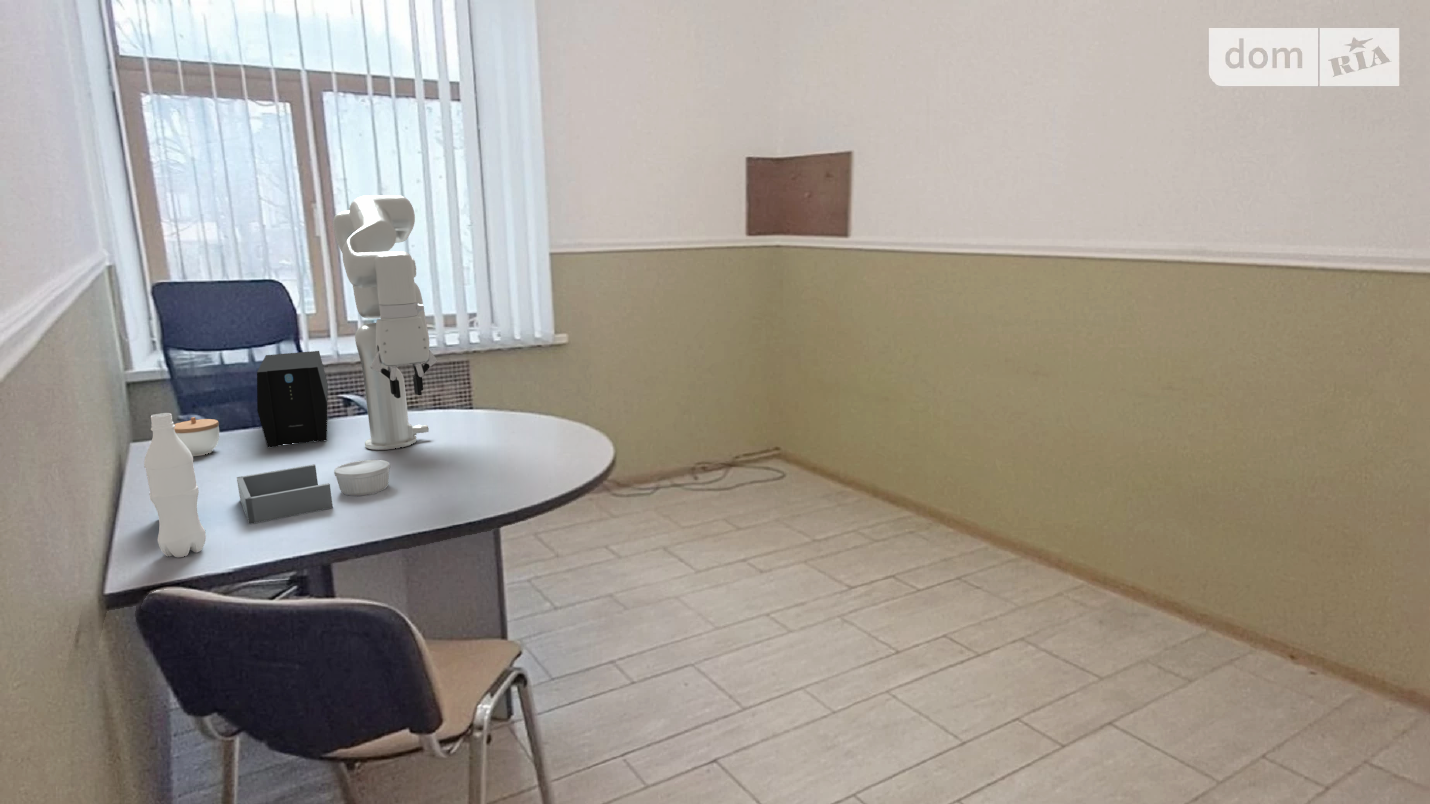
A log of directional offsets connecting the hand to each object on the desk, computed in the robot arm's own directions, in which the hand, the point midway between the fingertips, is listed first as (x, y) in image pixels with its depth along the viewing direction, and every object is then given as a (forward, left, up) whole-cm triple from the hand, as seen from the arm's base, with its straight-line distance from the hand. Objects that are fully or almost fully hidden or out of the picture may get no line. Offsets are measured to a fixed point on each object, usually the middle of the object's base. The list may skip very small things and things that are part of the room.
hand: (407, 395), depth 184 cm
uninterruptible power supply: (+14, -69, -20) cm, 73 cm away
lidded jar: (+39, -59, -19) cm, 73 cm away
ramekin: (+11, 0, -20) cm, 23 cm away
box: (+26, 0, -19) cm, 32 cm away
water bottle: (+45, +18, -19) cm, 52 cm away
